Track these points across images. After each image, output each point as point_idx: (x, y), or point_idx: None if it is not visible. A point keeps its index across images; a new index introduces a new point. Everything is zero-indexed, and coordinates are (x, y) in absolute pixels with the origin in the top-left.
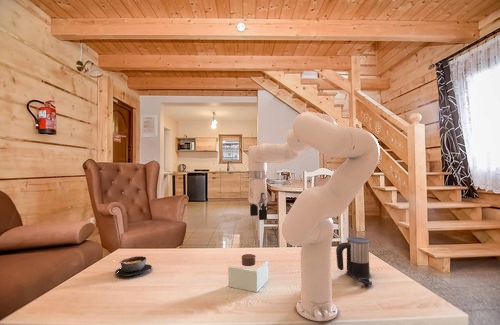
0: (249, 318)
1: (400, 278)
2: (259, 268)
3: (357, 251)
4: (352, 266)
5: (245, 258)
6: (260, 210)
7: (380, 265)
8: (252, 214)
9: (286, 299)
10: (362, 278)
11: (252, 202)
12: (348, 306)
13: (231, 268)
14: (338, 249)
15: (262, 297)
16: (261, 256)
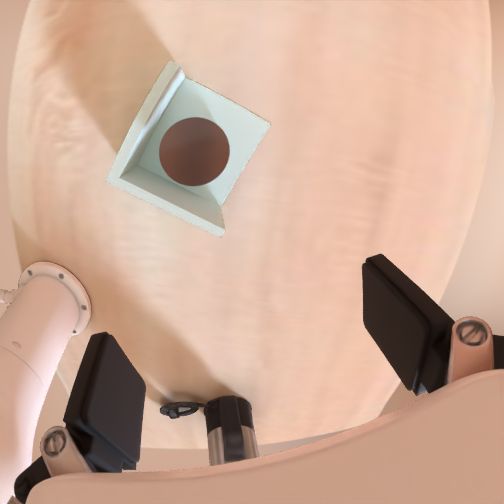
0: (12, 152)
1: (206, 444)
2: (137, 193)
3: (211, 454)
4: (216, 419)
5: (163, 136)
6: (75, 423)
7: (268, 438)
8: (369, 282)
9: (89, 247)
10: (172, 413)
11: (188, 489)
12: (83, 354)
13: (161, 74)
14: (227, 436)
15: (96, 183)
16: (413, 217)
